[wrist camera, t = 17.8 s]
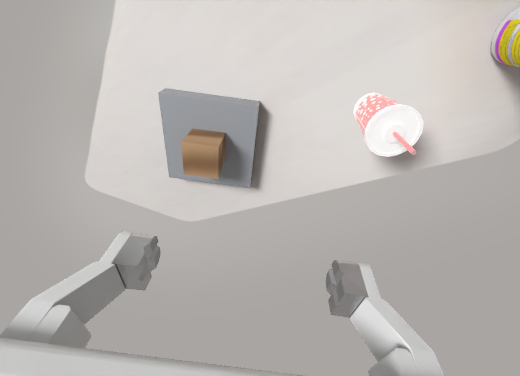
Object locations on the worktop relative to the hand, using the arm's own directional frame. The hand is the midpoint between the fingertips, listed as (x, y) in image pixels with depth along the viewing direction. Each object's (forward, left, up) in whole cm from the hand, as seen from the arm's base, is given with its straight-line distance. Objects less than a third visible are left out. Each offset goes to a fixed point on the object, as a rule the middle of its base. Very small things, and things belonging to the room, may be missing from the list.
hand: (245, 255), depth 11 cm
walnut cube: (+8, -8, -26) cm, 29 cm away
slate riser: (+8, -8, -29) cm, 31 cm away
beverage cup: (0, +15, -29) cm, 33 cm away
